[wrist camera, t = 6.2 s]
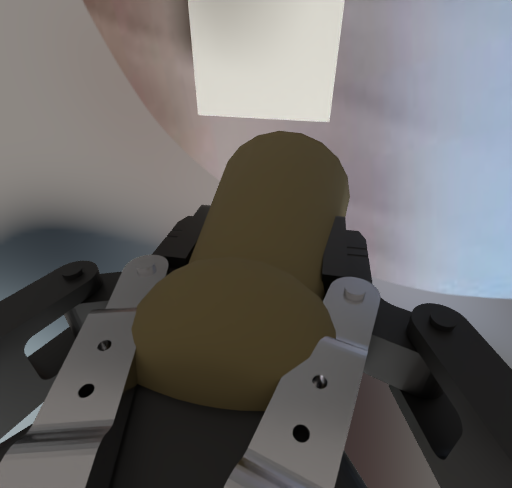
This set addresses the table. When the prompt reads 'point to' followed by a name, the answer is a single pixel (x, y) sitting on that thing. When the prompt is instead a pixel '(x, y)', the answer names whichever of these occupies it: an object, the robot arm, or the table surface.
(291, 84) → the podium
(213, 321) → the cork
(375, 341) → the robot arm
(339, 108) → the table surface
